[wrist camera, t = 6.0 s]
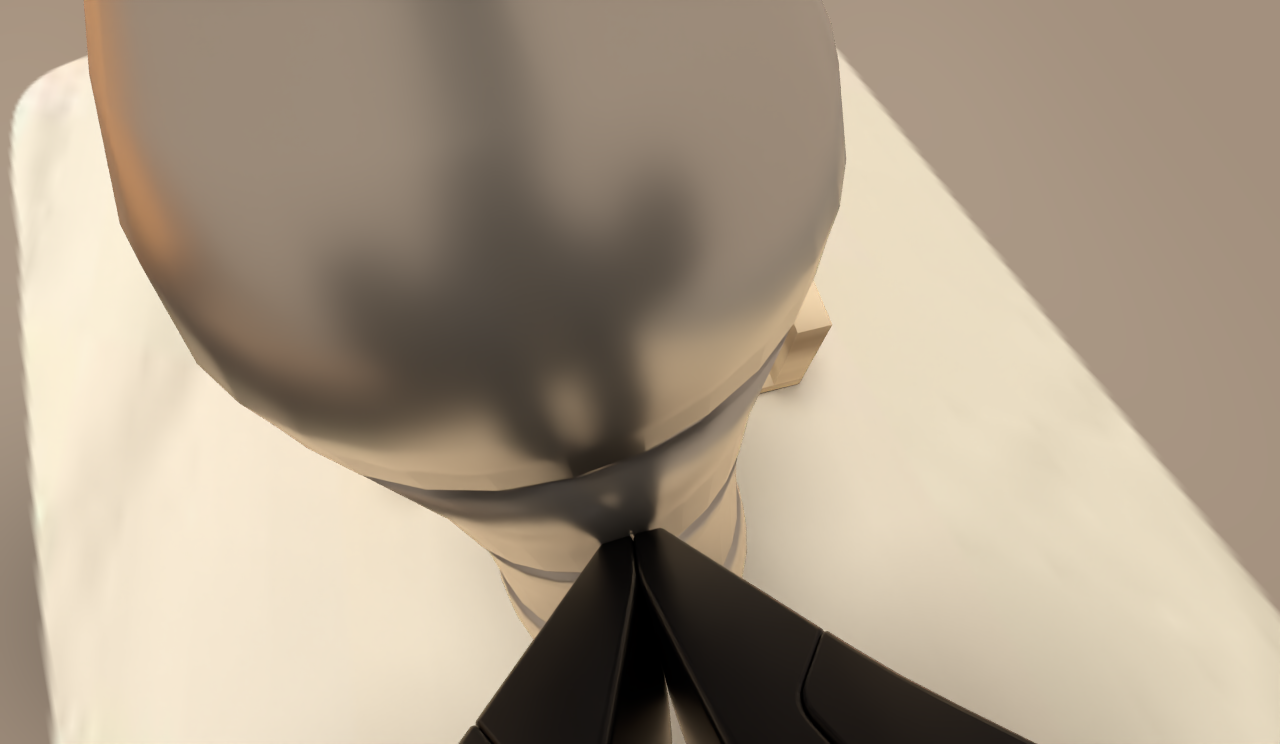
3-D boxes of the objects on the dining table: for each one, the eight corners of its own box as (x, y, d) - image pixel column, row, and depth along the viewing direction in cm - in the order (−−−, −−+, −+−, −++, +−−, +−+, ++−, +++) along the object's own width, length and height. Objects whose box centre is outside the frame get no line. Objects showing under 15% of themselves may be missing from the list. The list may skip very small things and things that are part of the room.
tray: (799, 383, 21) (832, 324, 16) (401, 482, 20) (330, 447, 16) (641, -34, 29) (636, -141, 25) (361, 25, 29) (309, -76, 24)
